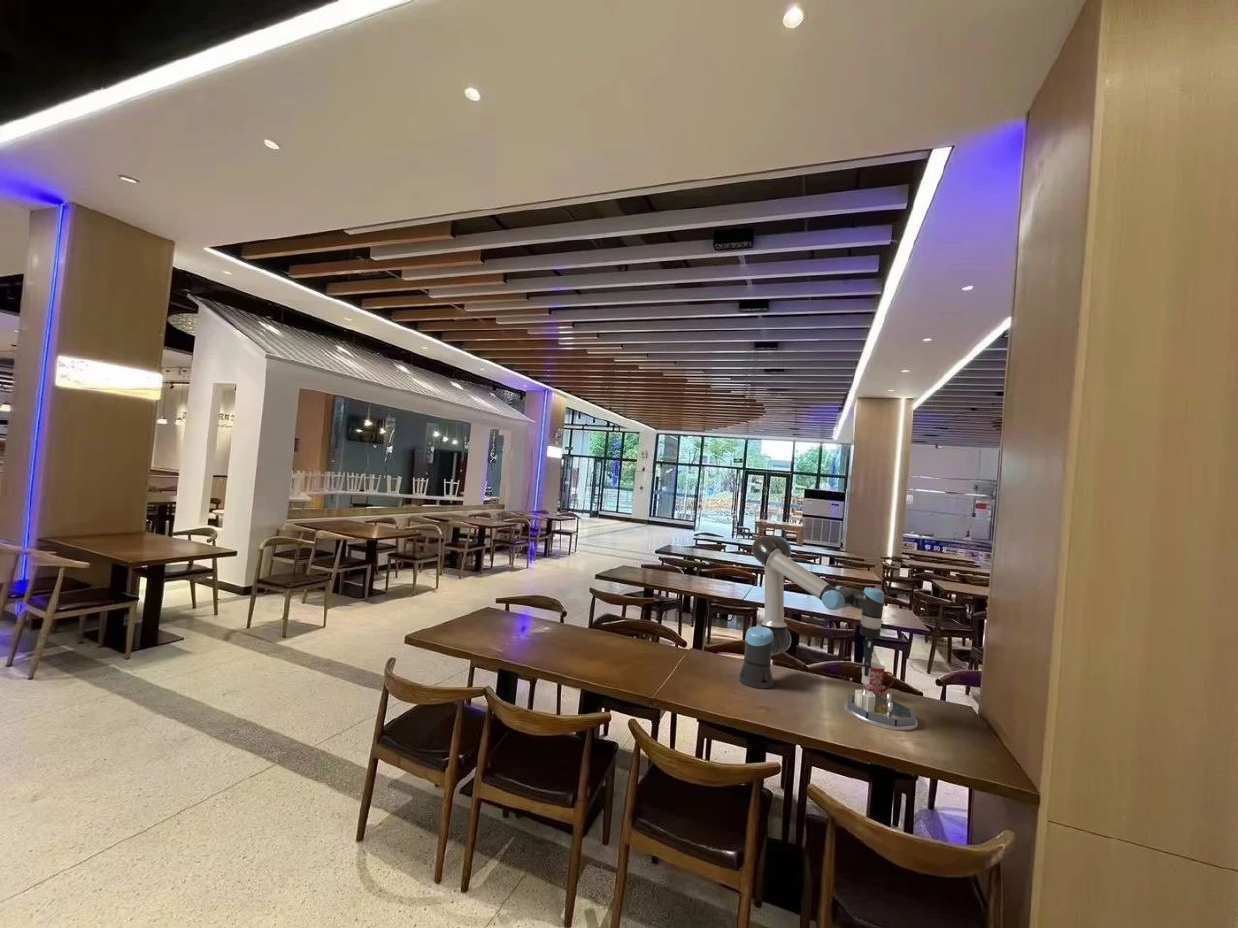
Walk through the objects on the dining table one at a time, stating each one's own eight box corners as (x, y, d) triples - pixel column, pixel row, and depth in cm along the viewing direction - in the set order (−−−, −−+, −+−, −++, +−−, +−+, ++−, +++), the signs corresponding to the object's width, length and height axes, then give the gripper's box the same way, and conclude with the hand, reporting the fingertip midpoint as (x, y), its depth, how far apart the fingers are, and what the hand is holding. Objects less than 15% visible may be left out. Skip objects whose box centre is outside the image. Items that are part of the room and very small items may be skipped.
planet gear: (854, 708, 213) (855, 693, 213) (854, 702, 219) (855, 688, 219) (874, 713, 209) (875, 698, 210) (874, 707, 216) (875, 692, 216)
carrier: (843, 717, 205) (845, 696, 206) (845, 695, 229) (847, 676, 230) (920, 737, 194) (922, 714, 194) (914, 712, 218) (916, 692, 218)
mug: (859, 695, 231) (862, 664, 232) (861, 689, 239) (863, 659, 239) (891, 704, 225) (894, 672, 226) (892, 697, 233) (894, 666, 233)
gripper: (881, 635, 203) (875, 690, 202) (880, 622, 225) (874, 672, 225) (860, 631, 206) (854, 685, 205) (860, 618, 228) (855, 667, 228)
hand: (865, 678), depth 215 cm, fingers open, 13 cm apart
